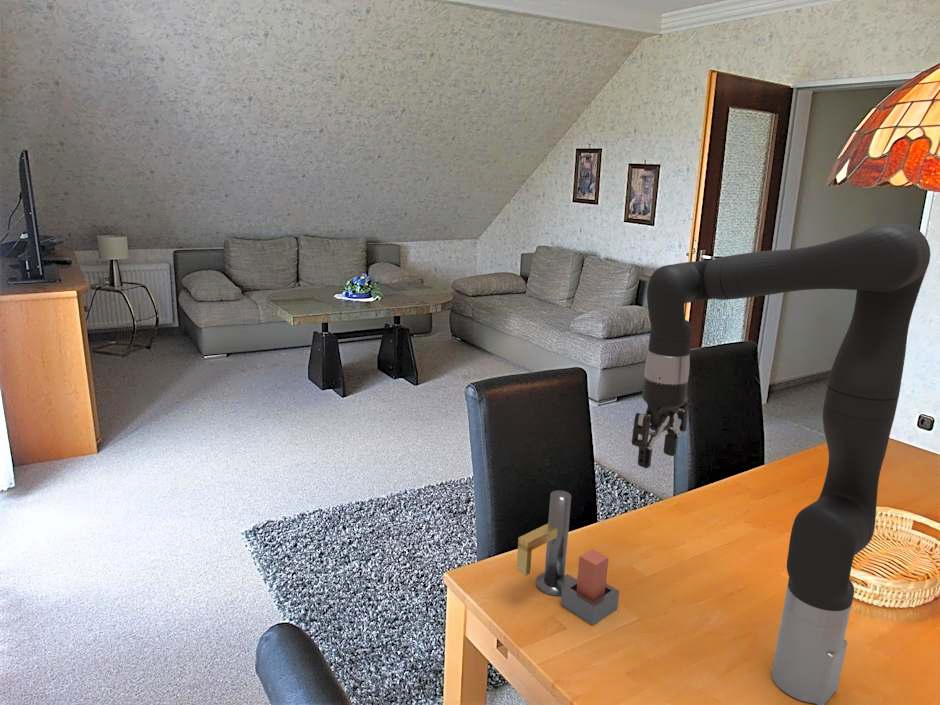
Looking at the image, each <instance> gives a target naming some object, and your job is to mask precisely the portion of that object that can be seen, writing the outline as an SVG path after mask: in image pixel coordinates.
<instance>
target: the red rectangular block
mask: <svg viewBox="0 0 940 705" xmlns="http://www.w3.org/2000/svg"><path fill="white" fill-rule="evenodd" d="M578 558H579V560H578V571H577V572H578V573H577V578H576V579H577V590H576V592H578V593H579V594H581V595H583V596H584V597H586V598H588V599H589V600H591V601H592V602H594V601H596V600H598V599H599V598H601V597H602V596H604V595H605V587H606V584H607V577H608V576H607V575H608V568H609V567H608V566H609V557H608V556H606V555H604V554H602V553H601V552H598V551H597V550H595V549H594V548H591V549H589V550H587V551H586V552H584V553H582V554H581V555H579V556H578Z"/></svg>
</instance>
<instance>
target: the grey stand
mask: <svg viewBox="0 0 940 705" xmlns="http://www.w3.org/2000/svg"><path fill="white" fill-rule="evenodd" d="M571 501H572V494H571V493H569V492H568V491H565V490H559V489H558V490H553V491H552V492H550V498H549V508H548V509H549V510H548V521H547V523H546V524H543V525H541V526H540V527H537V528H535V529H533V530H531V531H529V532H527V533H525V534H523V535H521V536H519V537H518V540H517V541H518V542H517V555H516V556H517V557H516V558H517V559H516V560H517V561H516V571H517V572H519V573H520V574H522V575H524V577H525V576H526V577H527V576H529V575H530V574H531V568H532V567H531V566H532V551H533V550H536V549H538V548H539V547H541V546H543V545H545V544H546V546H545V547H546V550H545V560H544V572H542V573H539V575H537V577H536V581H535V586H536V588H537V589H538V590H539V592H541V593H543V594H545V595H548V596H551V597H552V596H553V597H560V596H561V601H560V602H561V603H560V606H561V607H563V609H566V610H567V611H569V612H570V613H572V614H574V615H575V616H577V617H578V618H580V619H582V620H583V621H584V622H586V623H587V624H589V625H591V626H594V625H596V624H597V623H598V622H601V620H604V619H605V618H606V617H608V616H609V615H611V614H612V613H614V612H615V611H617V610H618V609H619V608H618V605H619V598H620V597H619V596H620V590H619V589H617V588H615V587H614V586H612V585H610V584H608V583H606V587H605V595H604V596H602V597H601V598H599V599H598V600H596V601H594V602H592V601H591V600H589V599H588V598H586V597H584V596H583V595H581V594H579V593H578V592H576V590H577V579H578V578H575V577H573V576H571V575H570V574H569V573H567V574H566V562H567V551H568V550H567V548H568V539H569V528H570V518H571V517H570V516H571V505H572V504H571V503H572V502H571Z"/></svg>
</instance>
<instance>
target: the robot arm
mask: <svg viewBox="0 0 940 705" xmlns="http://www.w3.org/2000/svg"><path fill="white" fill-rule="evenodd" d="M930 260H931V248H930V244H929V241H928V240H927V238H926V236H925V235H924V234H923V233H922V232H921V231H920V230H919V229H917V227H915V226H912V225H910V224H906V223H904V222H903V223H901V222H892V223H884V224H882V223H881V224H878V225H873V226H870V227H868V228H866V229H865V230H863V231H859V232H857V233H855V234H854V233H853V234H851V235H847V236H845V237H841V238H838V239H836V240H831V241H829V242H824V243H820V244H816V245H809V246H806V247H799V248H790V249H776V250H774V249H773V250H763V251H754V252H746V253H740V254H731V255H727V256H726V255H725V256H720V257H718V258H717V257H716V258H713V259H710V260H709V259H708V260H698V261H697V260H696V261H689V262H688V261H687V262H679V263H674V264H672V263H671V264H667V265H662V266H659V267H658V268H656V269H655V270H654V271H653V272H652V274H651V276H650V277H649V280H648V283H647V288H646V289H647V290H646V302H647V311H648V317H649V323H650V332H649V341H648V351H647V355H646V360H645V366H644V376H643V377H644V378H643V386H642V394H641V395H642V396H641V397H642V399H643V401H644V403H646V404H647V408H646V410H645V413H642V412H641V413H640V412H636V413H635V414H634V415H635V416H634V422H633V429H632V437H631V445H632V446H635V447H638V455H637V465H638V467H642V468H643V469H649V468H650V467H651V462H652V454H653V447H654V445H655V442H656V440H659V439H660V438H661V435H662V434H663V433H664V432H665V433H666V434H665V435H664V444H663V453H664V455H667V456H670V457H674V456H675V455H676V454H677V446H678V439H679V438H680V436H681V435H682V432H686V429H687V423H688V411H689V402H688V401H687V392H688V385H689V384H688V382H689V377H690V375H689V374H690V367H691V366H690V364H691V362H690V357H691V356H690V353H691V347H692V346H691V345H692V336H693V325H692V324H691V322H690V321H688V320H687V319H685V316H686V314H685V304H689V303H694V302H700V301H707V300H719V301H722V300H723V301H727V300H738V299H746V298H747V299H749V298H757V297H762V296H763V297H764V296H771V295H777V294H783V293H791V292H798V291H799V292H800V291H809V290H811V291H812V290H849V291H850V290H851V291H856V294H855V302H854V303H855V304H854V309H853V314H852V317H851V321H850V323H849V326H848V328H847V331H846V333H845V336H844V338H843V339H842V343H841V344H840V346H839V349H838V351H837V353H836V356H835V357H834V360H833V363H832V367H831V369H830V374H829V376H828V381H827V386H826V390H825V395H824V396H825V397H824V401H823V402H824V403H823V408H822V424H823V431H824V432H823V433H824V436H825V440H826V444H827V452H828V464H827V471H826V473H825V474H826V475H825V478H824V482H823V486H822V490H821V492H820V494H819V497H818V499H817V500H815V501H814V502H812V503H811V504H809V505H807V506H805V507H804V508H802V509H801V510H800V511H799V512H798V513H797V515H796V516H795V518H794V520H793V524H792V527H791V531H790V536H789V543H788V551H787V558H786V572H787V575H788V580H787V586H786V591H785V597H784V601H783V602H784V603H783V607H782V608H783V609H782V613H781V617H780V624H779V629H778V633H777V635H778V636H777V641H776V645H775V650H774V655H773V656H774V657H773V659H772V668H771V671H770V672H771V673H770V675H771V678H772V680H773V682H774V683H775V684H776V687H778V688H779V689H780V690H781V691H782V692H784V693H785V694H786V695H788V696H790V697H792V698H793V699H796V700H798V701H802V702H805V703H810V704H815V705H826V704H827V703H828V702H829V701H830V699H831V698H832V697H833V695H834V694H835V693H836V692H837V691H838V686H839V683H840V679H841V674H842V668H843V665H844V660H845V655H846V651H847V646H848V641H847V639H845V636H846V633H847V626H848V622H849V620H850V619H849V618H850V613H851V609H852V604H853V600H854V595H855V587H854V584H853V582H852V581H851V580H850V578H851V577H850V576H851V572H852V566H853V562H854V559H855V556H856V555H857V554H858V553H860V552H861V551H862V550H864V548H866V547H867V546H868V545H869V543H870V542H871V540H872V538H873V537H874V536H873V535H874V533H875V528H876V520H877V519H876V517H877V516H876V515H877V502H878V492H879V490H878V489H879V481H880V480H879V479H880V474H881V471H882V466H883V463H884V460H885V456H886V453H887V448H888V444H889V439H890V436H891V431H892V429H893V428H892V427H893V424H894V420H895V415H896V411H897V408H898V407H897V406H898V402H899V398H900V397H899V396H900V392H901V386H902V379H903V373H904V367H905V360H906V351H907V345H908V344H907V342H908V334H909V327H910V322H911V319H912V315H913V312H914V308H915V306H916V302H917V299H918V296H919V293H920V290H921V287H922V284H923V282H924V279H925V276H926V273H927V270H928V267H929V265H930ZM680 422H681V423H680ZM649 437H650V438H649Z"/></svg>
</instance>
